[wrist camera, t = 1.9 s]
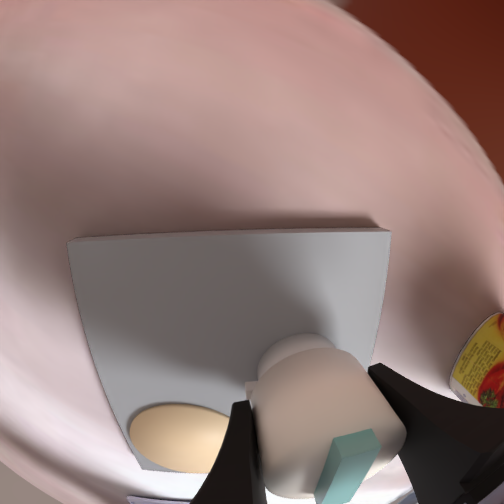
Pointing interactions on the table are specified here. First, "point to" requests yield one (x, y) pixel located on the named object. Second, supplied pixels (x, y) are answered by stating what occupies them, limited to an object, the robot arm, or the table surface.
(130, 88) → the table surface
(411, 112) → the table surface
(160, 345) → the post board
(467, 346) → the canned food
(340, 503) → the cap
